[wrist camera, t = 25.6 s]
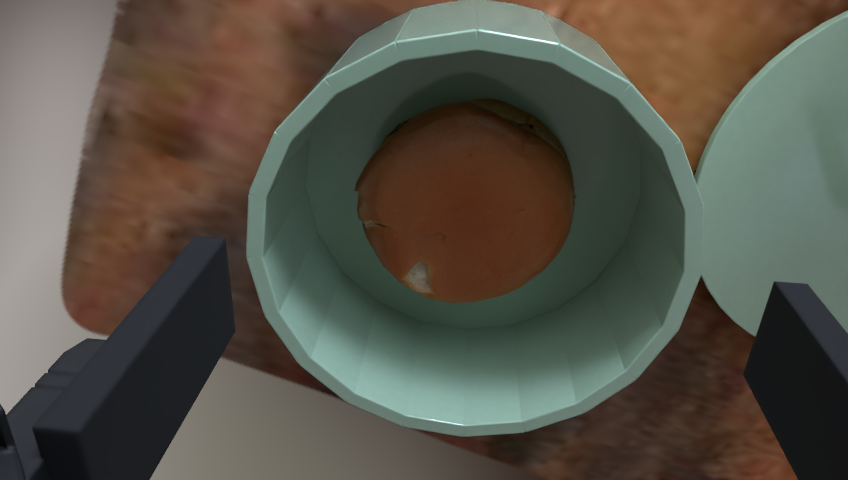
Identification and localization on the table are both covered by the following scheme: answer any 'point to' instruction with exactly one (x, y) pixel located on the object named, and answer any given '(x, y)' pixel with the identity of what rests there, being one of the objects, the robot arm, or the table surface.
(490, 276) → the burger
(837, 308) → the lid
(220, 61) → the table surface
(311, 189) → the pot
